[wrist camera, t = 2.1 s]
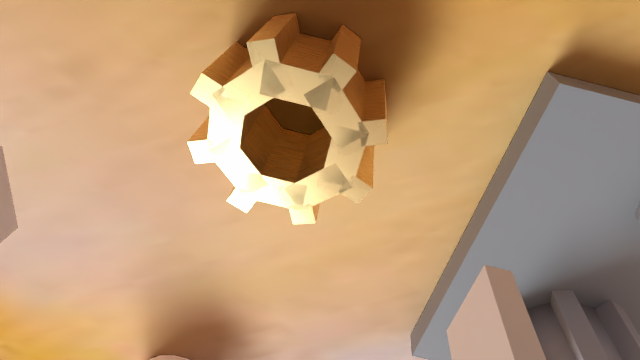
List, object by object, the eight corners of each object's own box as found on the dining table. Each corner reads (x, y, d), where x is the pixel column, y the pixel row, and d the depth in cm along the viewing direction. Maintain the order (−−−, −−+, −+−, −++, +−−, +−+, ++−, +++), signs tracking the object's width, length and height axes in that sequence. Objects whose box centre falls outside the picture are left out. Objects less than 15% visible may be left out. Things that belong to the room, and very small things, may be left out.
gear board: (547, 71, 18) (636, 154, 12) (858, 151, 19) (1105, 273, 12) (410, 335, 28) (419, 458, 22) (617, 386, 28) (686, 522, 22)
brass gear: (232, -4, 18) (194, 17, 15) (405, 40, 18) (412, 73, 15) (217, 149, 22) (184, 197, 19) (359, 184, 22) (355, 240, 19)
